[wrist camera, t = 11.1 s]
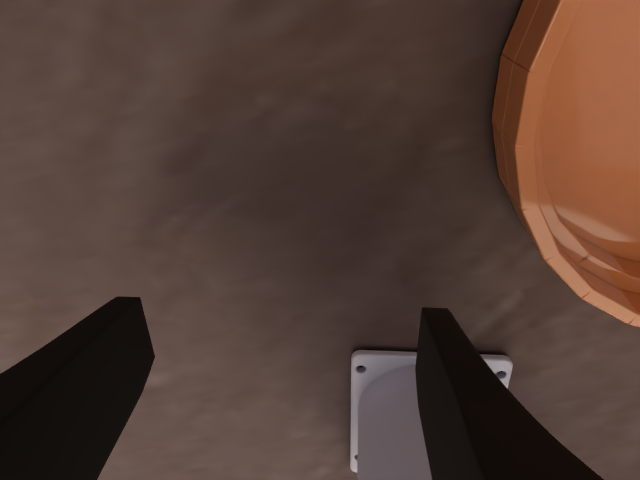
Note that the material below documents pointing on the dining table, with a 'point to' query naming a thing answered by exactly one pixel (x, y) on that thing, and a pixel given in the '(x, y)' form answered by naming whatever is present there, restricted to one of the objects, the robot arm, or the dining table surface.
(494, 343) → the dining table surface
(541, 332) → the dining table surface
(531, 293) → the dining table surface
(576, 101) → the pan
